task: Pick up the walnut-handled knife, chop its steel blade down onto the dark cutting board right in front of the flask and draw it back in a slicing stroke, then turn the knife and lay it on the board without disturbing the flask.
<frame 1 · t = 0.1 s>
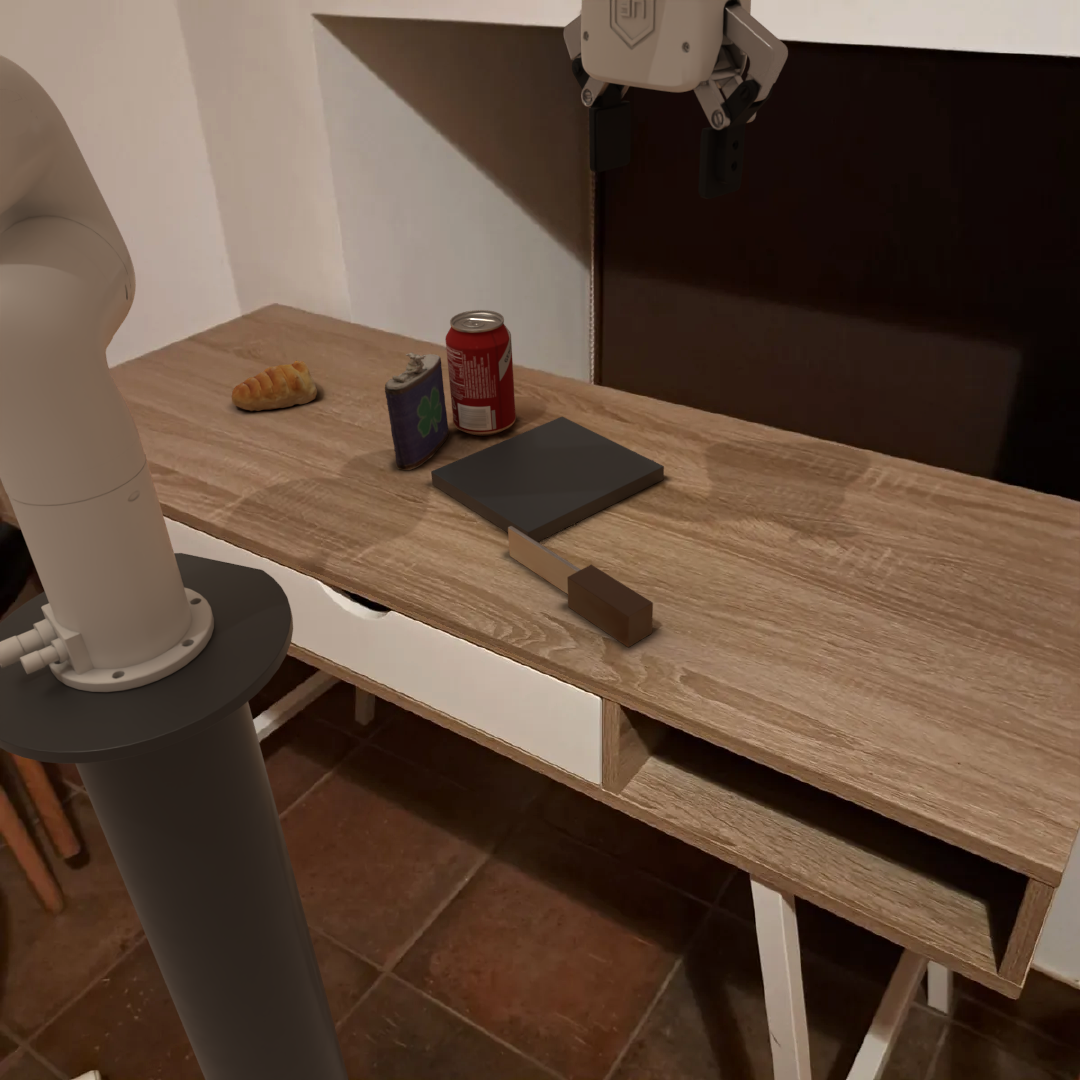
hand: (662, 180, 65), 33 cm above the table, tool pointing down, fingers open, 9 cm apart
knife: (575, 597, 83), on the table
soda can: (485, 426, 110), on the table
flask: (424, 451, 105), on the table
pastry: (281, 400, 117), on the table
board: (547, 482, 99), on the table
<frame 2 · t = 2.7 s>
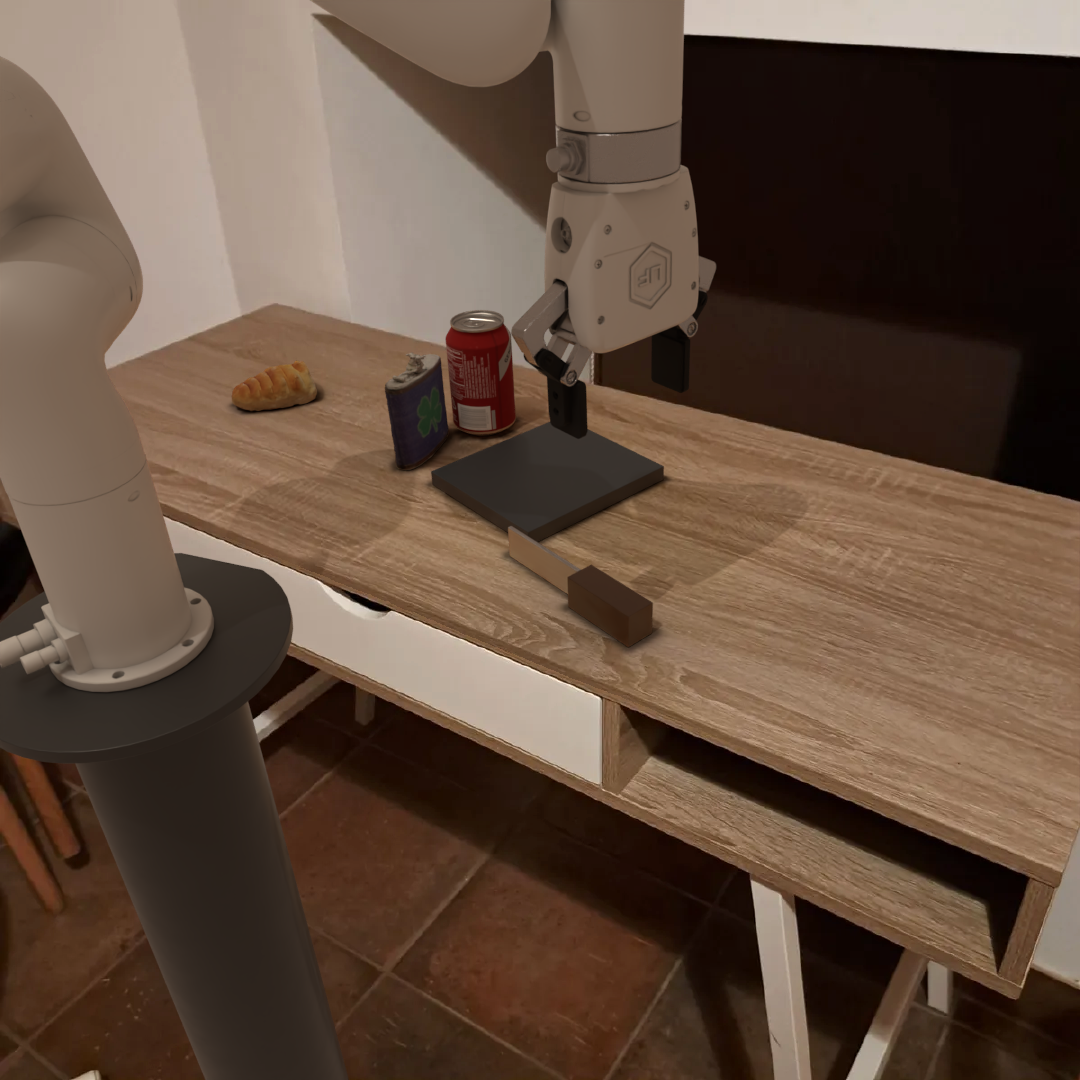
hand: (620, 408, 71), 18 cm above the table, tool pointing down, fingers open, 9 cm apart
nothing on the table moved.
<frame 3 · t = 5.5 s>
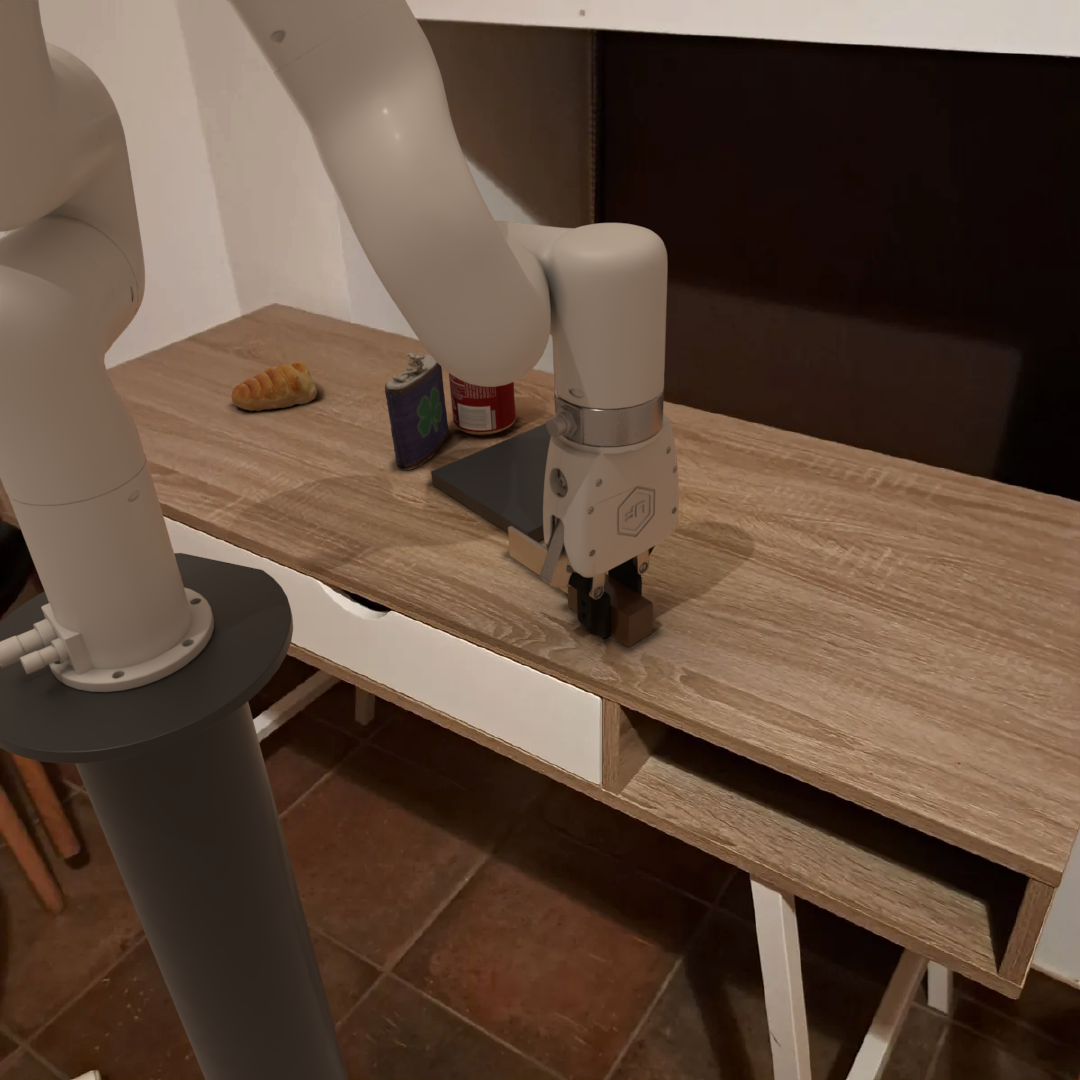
hand: (609, 617, 80), 0 cm above the table, tool pointing down, fingers closed on knife, 2 cm apart
knife: (575, 597, 83), on the table, touching gripper
everything else where it was.
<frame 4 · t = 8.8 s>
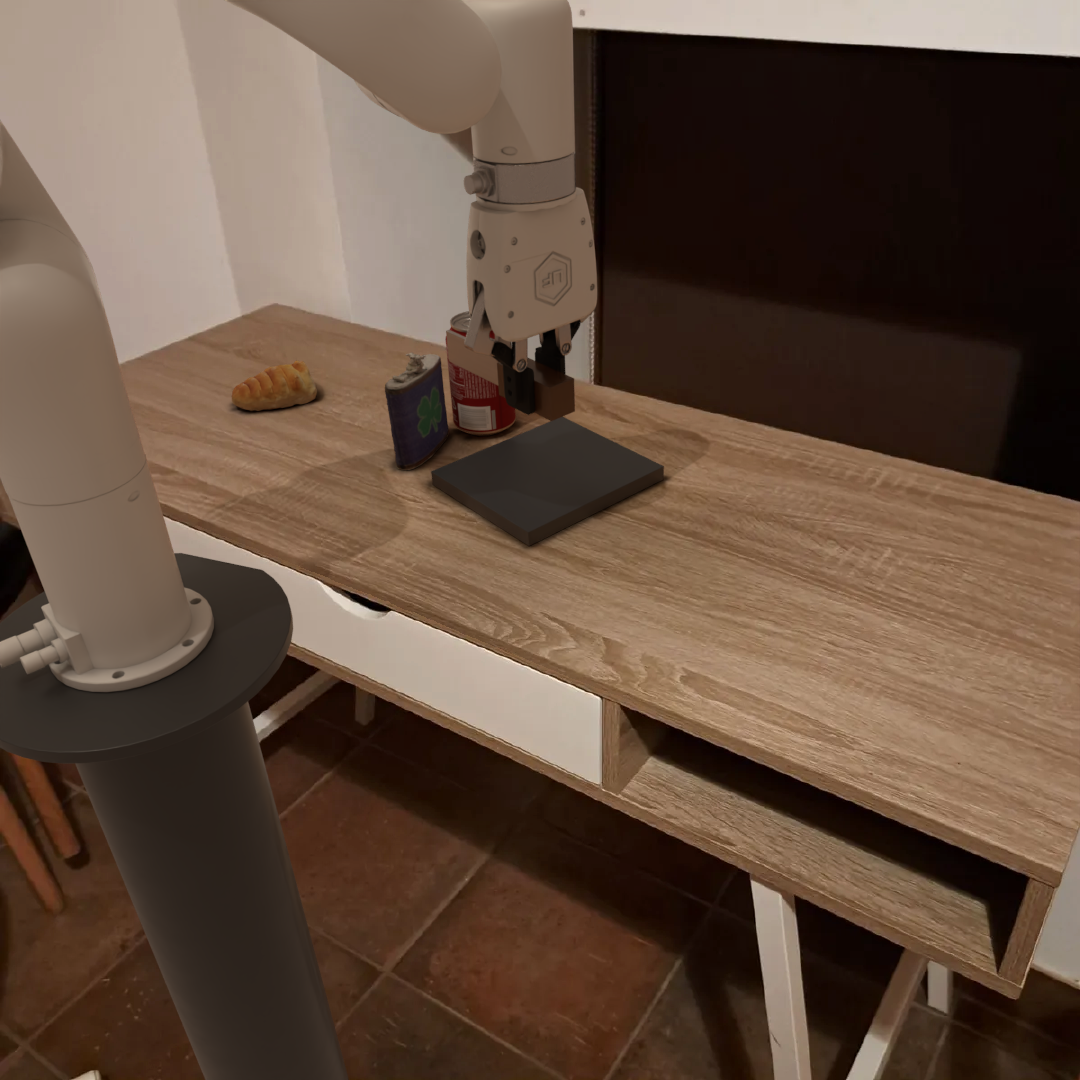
hand: (536, 400, 85), 13 cm above the table, tool pointing down, fingers closed on knife, 2 cm apart
knife: (507, 388, 88), point 12 cm above the table, touching gripper
everything else where it was.
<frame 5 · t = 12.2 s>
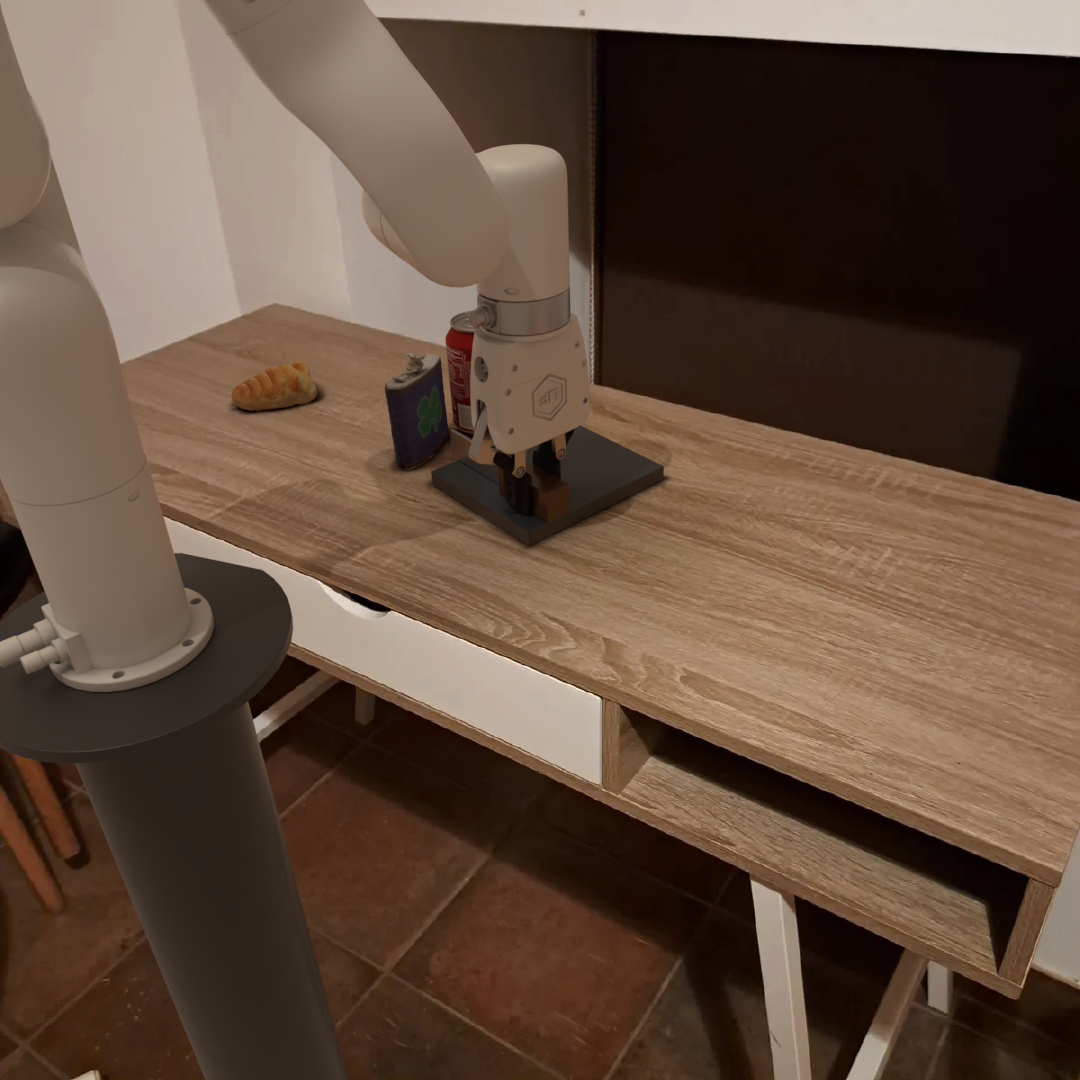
hand: (533, 499, 92), 2 cm above the table, tool pointing down, fingers closed on knife, 2 cm apart
knife: (506, 487, 95), point 2 cm above the table, touching gripper
everything else where it was.
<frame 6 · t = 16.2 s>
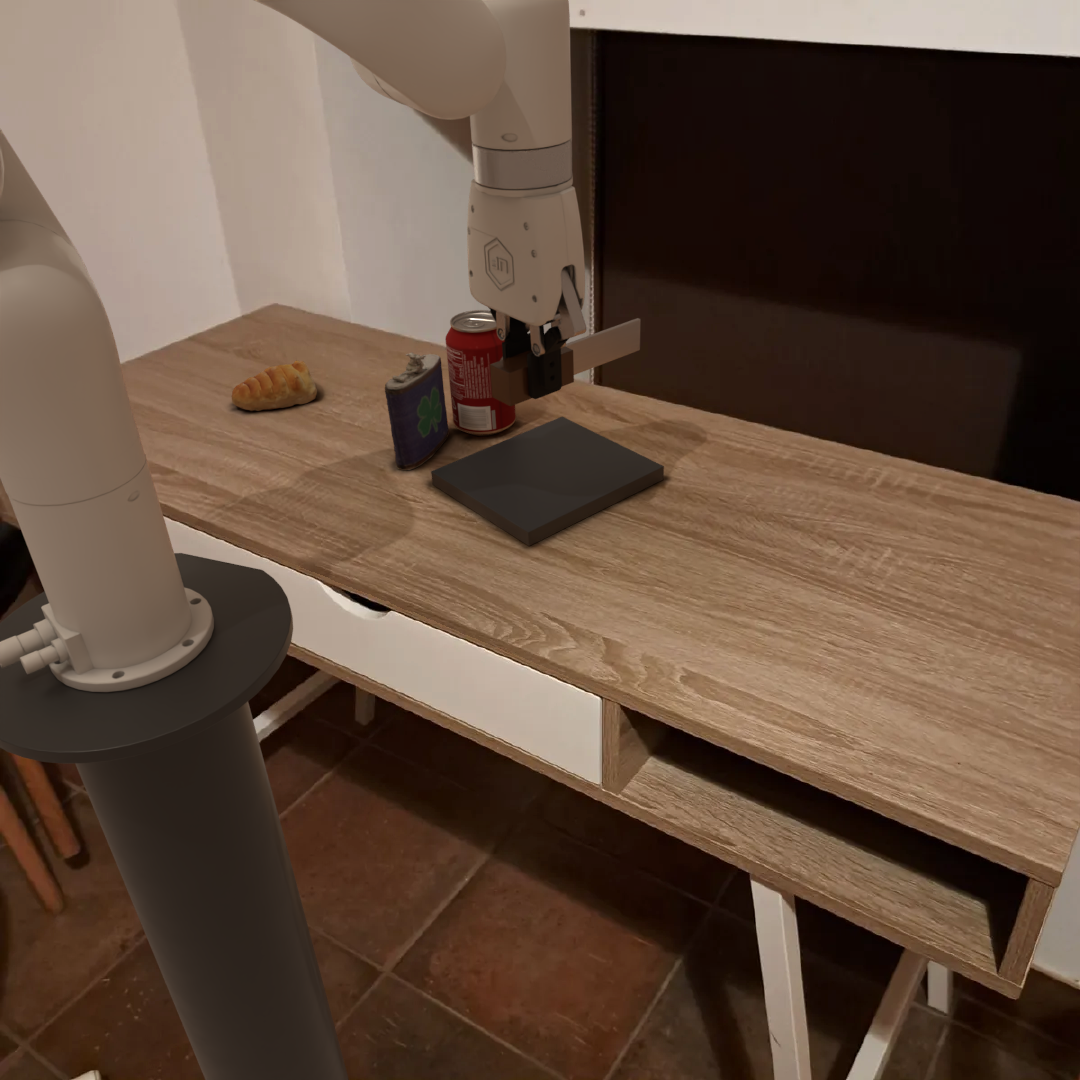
hand: (533, 385, 87), 13 cm above the table, tool pointing down, fingers closed on knife, 2 cm apart
knife: (568, 376, 89), point 13 cm above the table, touching gripper
everything else where it was.
when the fingers open (2 cm above the table, at t = 19.1 s): knife stays where it is, resting on board.
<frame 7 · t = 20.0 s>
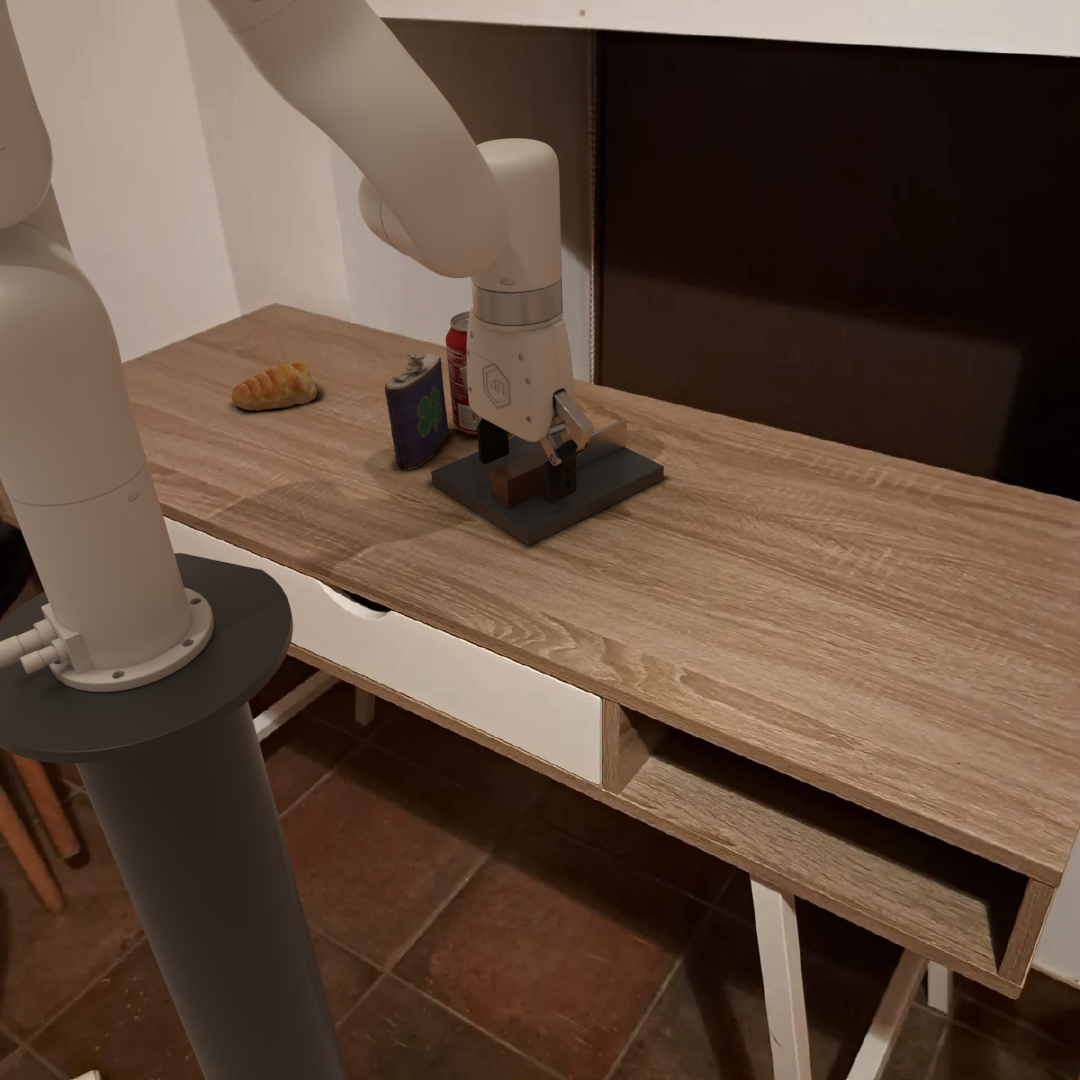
hand: (526, 477, 94), 3 cm above the table, tool pointing down, fingers open, 9 cm apart
knife: (561, 475, 97), point 1 cm above the table, touching board
everything else where it was.
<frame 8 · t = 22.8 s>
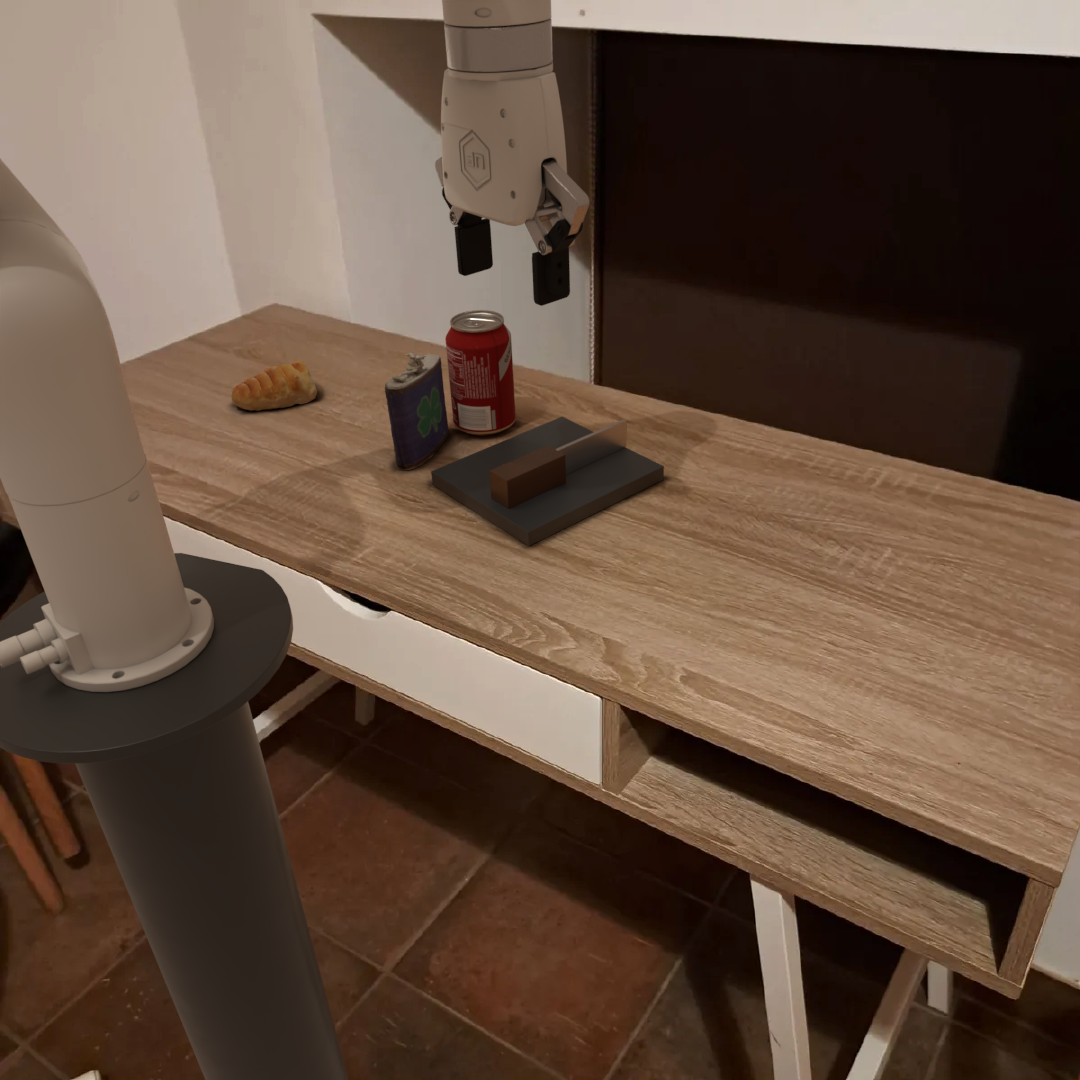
hand: (512, 285, 81), 22 cm above the table, tool pointing down, fingers open, 9 cm apart
nothing on the table moved.
at the end: knife 0.1 cm from the target spot on the board, point 1.5 cm above the board's base; flask moved 0.2 cm from its start; flask tilted 0° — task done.
